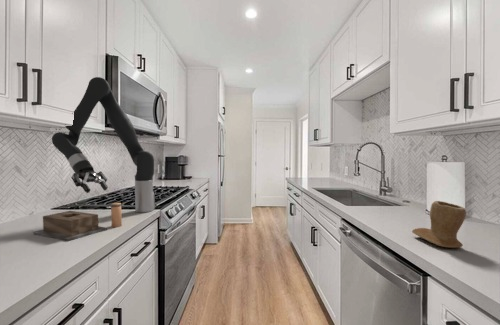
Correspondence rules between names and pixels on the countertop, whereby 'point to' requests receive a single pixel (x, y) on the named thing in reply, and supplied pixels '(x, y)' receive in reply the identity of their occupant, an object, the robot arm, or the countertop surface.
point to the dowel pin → (116, 215)
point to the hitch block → (70, 225)
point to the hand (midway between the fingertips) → (97, 190)
